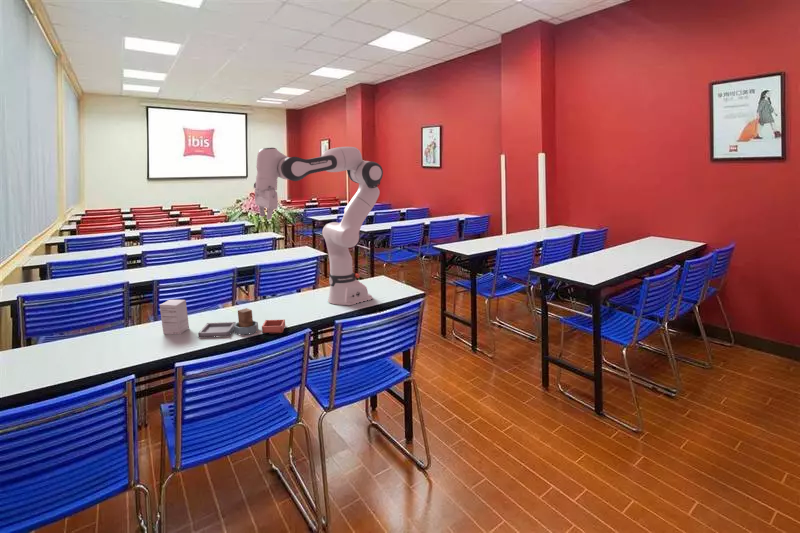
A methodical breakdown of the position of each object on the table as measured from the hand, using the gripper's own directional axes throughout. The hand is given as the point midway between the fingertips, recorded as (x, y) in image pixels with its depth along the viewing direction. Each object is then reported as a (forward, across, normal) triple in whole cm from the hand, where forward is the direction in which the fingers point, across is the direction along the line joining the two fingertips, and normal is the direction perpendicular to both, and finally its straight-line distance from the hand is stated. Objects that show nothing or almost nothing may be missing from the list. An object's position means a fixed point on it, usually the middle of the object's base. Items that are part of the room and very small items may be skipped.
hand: (265, 217), depth 200 cm
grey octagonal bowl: (+46, -16, +12) cm, 50 cm away
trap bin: (+45, -21, +2) cm, 49 cm away
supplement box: (+48, +1, +36) cm, 60 cm away
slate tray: (+47, -10, +22) cm, 52 cm away
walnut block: (+46, -16, +12) cm, 50 cm away
